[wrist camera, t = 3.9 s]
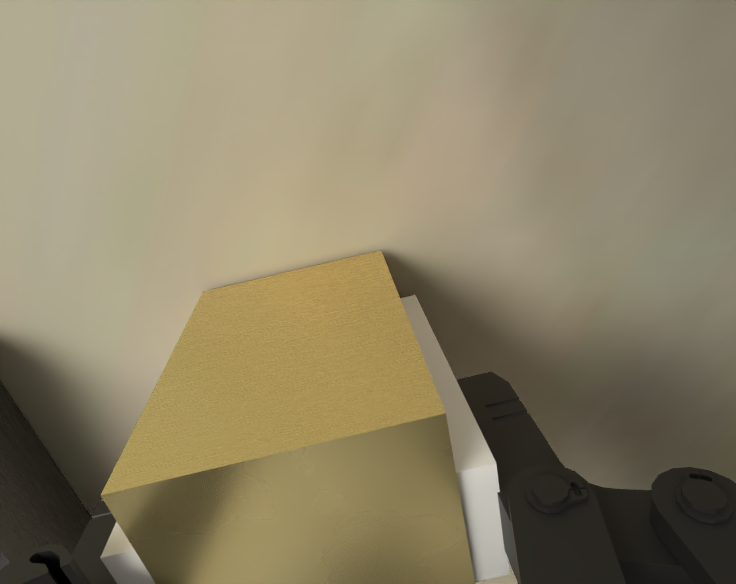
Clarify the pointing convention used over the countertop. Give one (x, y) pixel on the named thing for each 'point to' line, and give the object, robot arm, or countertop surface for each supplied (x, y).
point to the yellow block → (295, 442)
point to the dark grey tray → (32, 491)
